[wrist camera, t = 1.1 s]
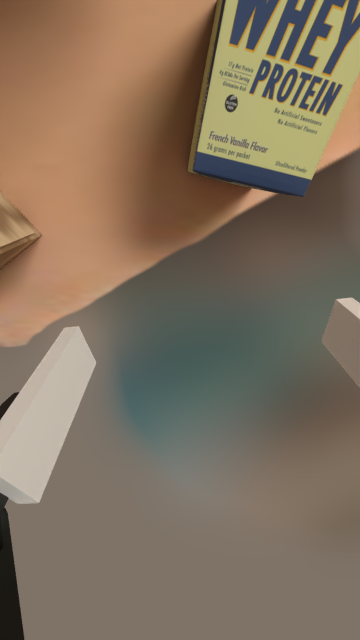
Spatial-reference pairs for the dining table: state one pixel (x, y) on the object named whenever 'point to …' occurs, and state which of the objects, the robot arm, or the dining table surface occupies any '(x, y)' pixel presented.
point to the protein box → (274, 90)
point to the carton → (13, 231)
